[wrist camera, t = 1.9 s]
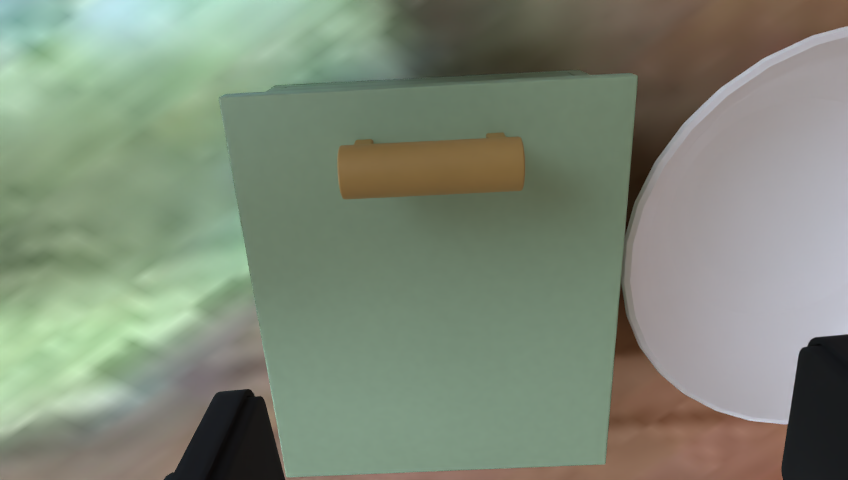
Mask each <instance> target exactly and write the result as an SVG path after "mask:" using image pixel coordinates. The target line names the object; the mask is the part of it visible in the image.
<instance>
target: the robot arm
mask: <svg viewBox="0 0 848 480" xmlns="http://www.w3.org/2000/svg"><path fill="white" fill-rule="evenodd" d="M782 477H783V480H848V334H845V335H834V336H823V337H815V338H813V339H811V340H810V342H809V343H808V346H807V347H803V348H802V349H801V350H800V352H799V356H798V362H797V369H796V375H795V382H794V388H793V395H792V402H791V408H790V415H789V421H788V428H787V435H786V441H785V448H784V454H783V461H782ZM164 480H285V477H284V473H283V470H282V466H281V462H280V458H279V454H278V450H277V447H276V443H275V439H274V435H273V431H272V427H271V423H270V420H269V416H268V412H267V408H266V404H265V401H264V399H263V397H261V396H259V397H255V396H254V393H253V392H252V391H251V390H249V389H245V390H234V391H223V392H218V393H216V394H215V396H214V397H213V399H212V401H211V403H210V405H209V407H208V409H207V411H206V413H205V415H204V417H203V418H202V420H201V422H200V424H199V426H198V428H197V430H196V432H195V434H194V436H193V438H192V440H191V441H190V443H189V445H188V447H187V449H186V451H185V453H184V455H183V457H182V459H181V461H180V463H179V464H178V466H177V468H176V470H175V472H174V473H171V474H169V475H168V476H166V477H165V479H164Z"/></svg>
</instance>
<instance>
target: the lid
mask: <svg viewBox="0 0 848 480" xmlns="http://www.w3.org/2000/svg"><path fill="white" fill-rule="evenodd" d="M637 84H638V76H637V75H634V74H632V73H622V74H602V75H583V76H564V77H544V78H525V79H506V80H487V81H467V82H448V83H429V84H409V85H390V86H371V87H352V88H332V89H313V90H294V91H274V92H255V93H236V94H225V95H223V96H221V97H219V103H220V109H221V114H222V120H223V125H224V131H225V137H226V142H227V148H228V153H229V159H230V164H231V170H232V176H233V181H234V187H235V192H236V198H237V204H238V209H239V215H240V220H241V226H242V231H243V237H244V243H245V248H246V254H247V259H248V265H249V271H250V276H251V282H252V287H253V293H254V298H255V304H256V310H257V315H258V321H259V326H260V332H261V338H262V343H263V349H264V354H265V360H266V365H267V371H268V377H269V382H270V388H271V393H272V399H273V405H274V410H275V416H276V421H277V427H278V432H279V438H280V444H281V449H282V455H283V460H284V466H285V472H286V477H307V476H331V475H356V474H380V473H404V472H429V471H453V470H477V469H501V468H526V467H550V466H574V465H599V464H605V463H606V451H607V439H608V427H609V416H610V404H611V392H612V380H613V368H614V356H615V344H616V333H617V321H618V309H619V297H620V285H621V273H622V262H623V250H624V238H625V226H626V214H627V202H628V190H629V179H630V167H631V155H632V143H633V131H634V119H635V108H636V96H637Z"/></svg>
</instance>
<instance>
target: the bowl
mask: <svg viewBox="0 0 848 480" xmlns="http://www.w3.org/2000/svg"><path fill="white" fill-rule="evenodd" d="M621 285H622V291H623V297H624V304H625V310H626V316H627V318H628V321H629V323H630V325H631V328H632V330H633V333H634V335H635V337H636V340H637V342H638V345H639V347H640V348H641V350H642V351H643V352H644V354H645V355H646V356H647V358H648V359H649V360H650V362H651V363H652V364H653V366H654V367H655V369H656V370H657V371H658V373H660V374H661V375H662V376H663V377H664V378H665V379H667V380H668V381H669V382H670V383H671V384H673V385H674V386H675V387H676V388H677V389H678V390H680V391H681V392H682V393H683V394H685V395H687V396H689V397H690V398H692V399H694V400H696V401H698V402H700V403H702V404H704V405H706V406H708V407H710V408H711V409H713V410H715V411H718V412H722V413H725V414H728V415H732V416H735V417H739V418H742V419H746V420H749V421H759V422H768V423H777V424H788V421H789V415H790V408H791V402H792V395H793V388H794V382H795V375H796V369H797V362H798V356H799V352H800V350H801V349H802V348H803V347H807V346H808V343H809V342H810V340H811V339H813V338H815V337H823V336H834V335H845V334H848V26H846V27H842V28H839V29H835V30H831V31H827V32H824V33H820V34H816V35H812V36H810V37H808V38H806V39H804V40H802V41H799V42H797V43H795V44H793V45H791V46H789V47H786V48H784V49H782V50H780V51H778V52H776V53H774V54H771V55H769V56H767V57H765V58H763V59H762V60H760V61H759V62H757V63H756V64H754V65H753V66H752V67H750V68H749V69H747V70H746V71H744V72H743V73H741V74H740V75H738V76H737V77H735V78H734V79H733V80H731V81H730V82H728V83H727V84H725V85H724V86H722V87H721V88H720V89H719V90H718V91H717V92H716V93H714V94H713V95H712V96H711V97H710V98H709V99H708V100H707V101H706V102H705V103H704V104H703V105H702V106H701V107H700V108H699V109H698V110H697V111H696V112H695V113H694V114H693V115H692V116H691V117H690V118H688V119H687V120H686V121H685V122H684V123H683V125H682V126H681V127H680V129H679V130H678V131H677V133H676V134H675V135H674V137H673V138H672V139H671V141H670V142H669V143H668V145H667V146H666V148H665V149H664V150H663V152H662V153H661V154H660V156H659V157H658V158H657V160H656V161H655V162H654V164H653V166H652V168H651V170H650V172H649V174H648V176H647V178H646V180H645V182H644V184H643V186H642V188H641V190H640V193H639V195H638V197H637V199H636V201H635V203H634V206H633V210H632V213H631V217H630V220H629V224H628V228H627V231H626V235H625V238H624V250H623V262H622V273H621Z"/></svg>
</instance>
